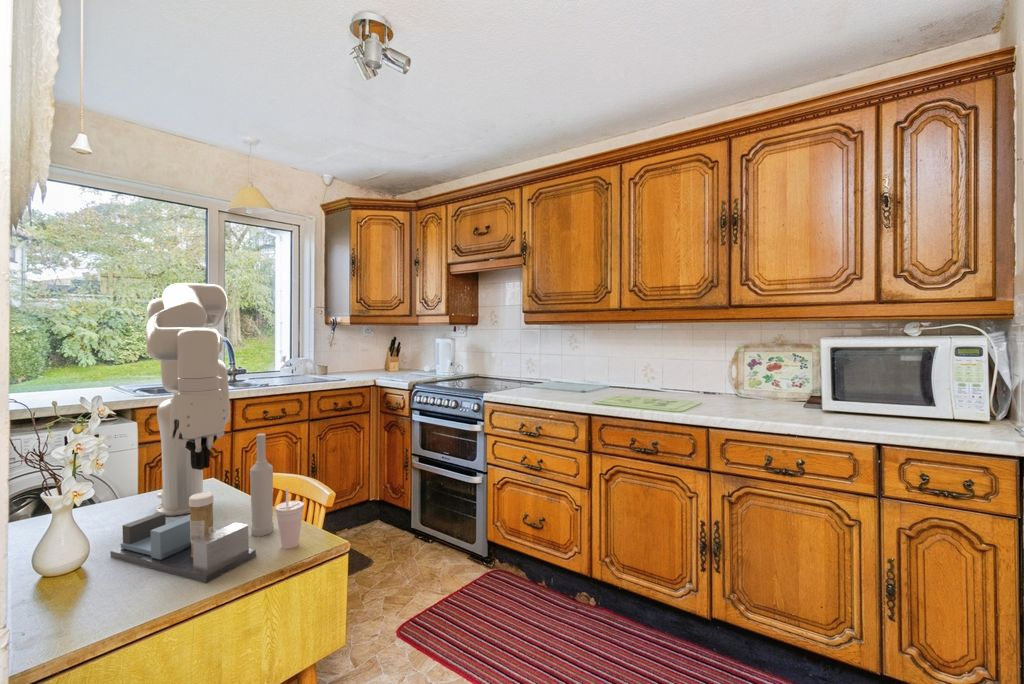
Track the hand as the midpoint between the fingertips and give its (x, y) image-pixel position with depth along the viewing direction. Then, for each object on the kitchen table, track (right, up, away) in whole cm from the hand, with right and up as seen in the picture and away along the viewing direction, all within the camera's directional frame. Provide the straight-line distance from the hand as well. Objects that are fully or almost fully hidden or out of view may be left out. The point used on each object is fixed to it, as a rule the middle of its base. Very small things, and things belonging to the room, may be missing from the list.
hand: (200, 467), depth 106 cm
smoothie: (+16, -21, +9) cm, 28 cm away
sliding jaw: (-12, -19, +5) cm, 23 cm away
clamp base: (-6, -21, +3) cm, 22 cm away
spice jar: (0, -20, +1) cm, 20 cm away
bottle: (+5, -21, +16) cm, 27 cm away
